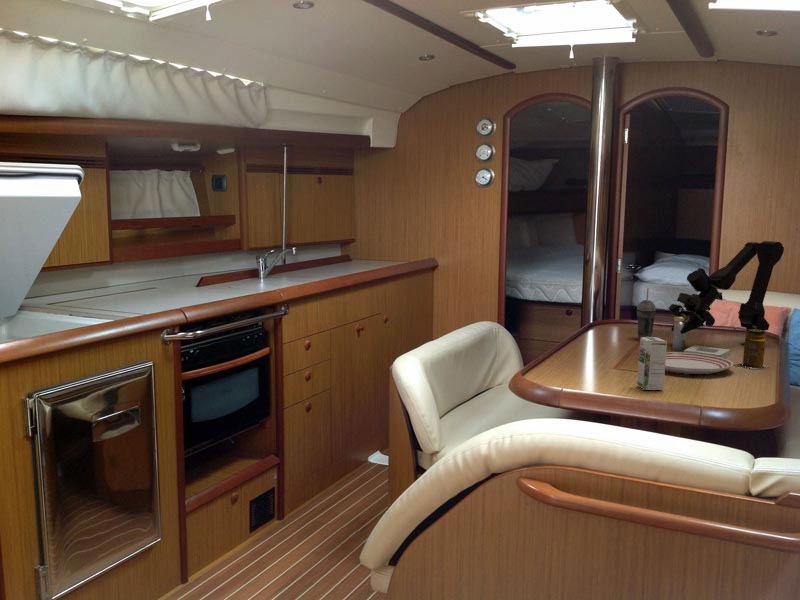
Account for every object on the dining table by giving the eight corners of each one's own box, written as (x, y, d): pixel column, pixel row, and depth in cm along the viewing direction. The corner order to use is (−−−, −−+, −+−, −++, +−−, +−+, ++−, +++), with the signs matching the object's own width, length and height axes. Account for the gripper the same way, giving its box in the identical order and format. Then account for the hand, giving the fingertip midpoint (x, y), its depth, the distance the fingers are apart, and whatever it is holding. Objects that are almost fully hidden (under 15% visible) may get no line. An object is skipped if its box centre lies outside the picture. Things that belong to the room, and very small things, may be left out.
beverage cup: (633, 341, 281) (636, 289, 279) (635, 337, 288) (638, 287, 285) (653, 342, 279) (657, 290, 276) (655, 339, 285) (658, 288, 283)
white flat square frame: (694, 350, 265) (695, 345, 265) (729, 355, 257) (730, 349, 257) (683, 355, 256) (683, 350, 255) (719, 361, 248) (720, 355, 248)
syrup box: (636, 386, 212) (639, 336, 210) (655, 386, 213) (659, 336, 211) (644, 391, 207) (647, 340, 205) (664, 391, 207) (667, 340, 205)
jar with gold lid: (674, 347, 270) (676, 315, 268) (686, 349, 267) (689, 316, 265) (670, 349, 266) (672, 316, 264) (682, 351, 263) (685, 318, 262)
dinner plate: (623, 363, 244) (623, 353, 243) (686, 357, 255) (687, 347, 254) (685, 382, 219) (685, 371, 218) (752, 375, 230) (753, 364, 229)
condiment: (768, 367, 241) (771, 330, 239) (753, 370, 236) (757, 333, 234) (747, 362, 247) (750, 327, 245) (732, 365, 242) (735, 329, 240)
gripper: (674, 282, 273) (647, 312, 271) (710, 288, 256) (682, 321, 254) (690, 302, 277) (664, 332, 275) (727, 310, 259) (699, 342, 257)
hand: (676, 331), depth 265 cm, fingers closed on jar with gold lid, 4 cm apart
